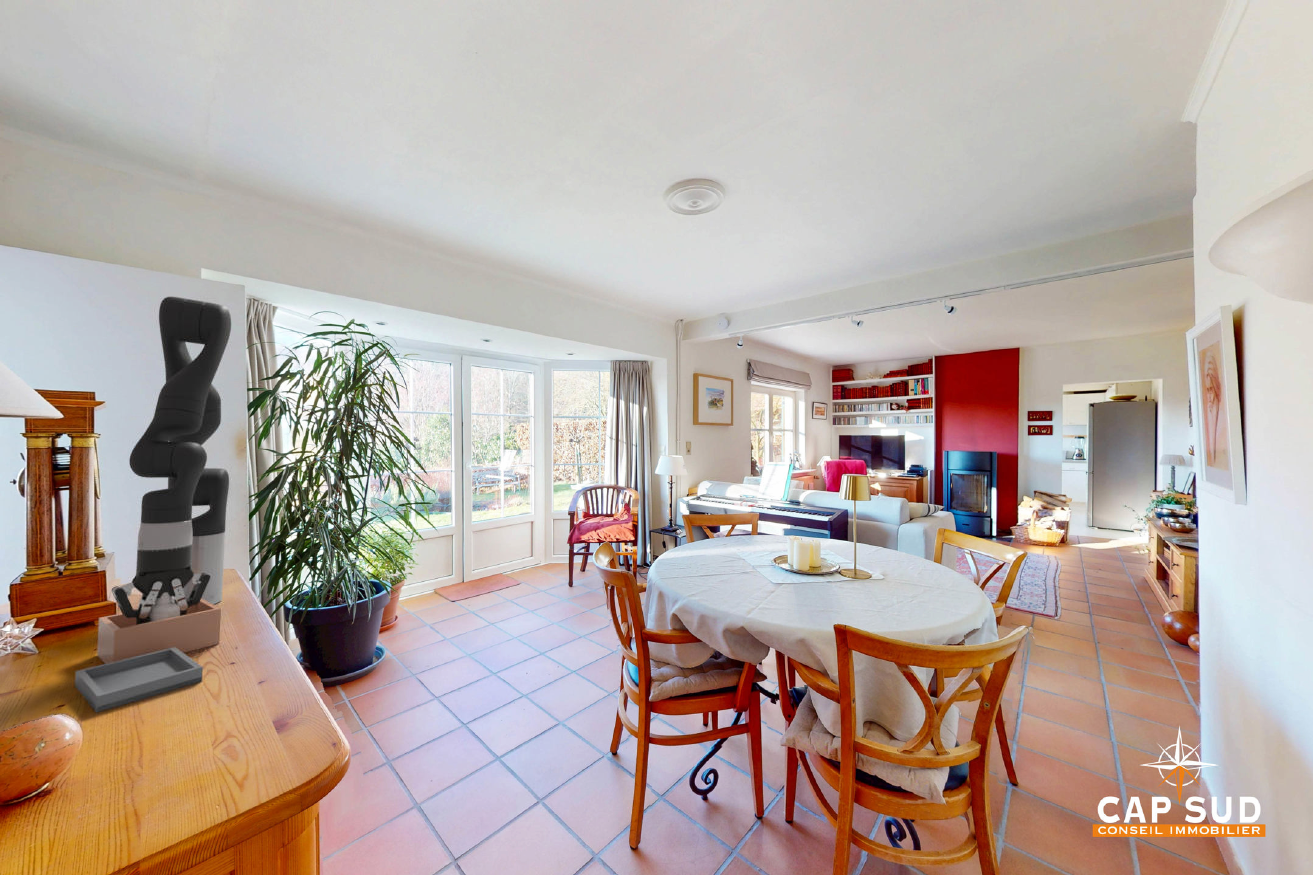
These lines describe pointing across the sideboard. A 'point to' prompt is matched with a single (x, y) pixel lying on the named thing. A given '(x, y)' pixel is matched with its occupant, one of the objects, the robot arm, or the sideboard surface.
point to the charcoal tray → (136, 678)
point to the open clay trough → (158, 633)
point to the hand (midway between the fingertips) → (161, 632)
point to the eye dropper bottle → (163, 608)
